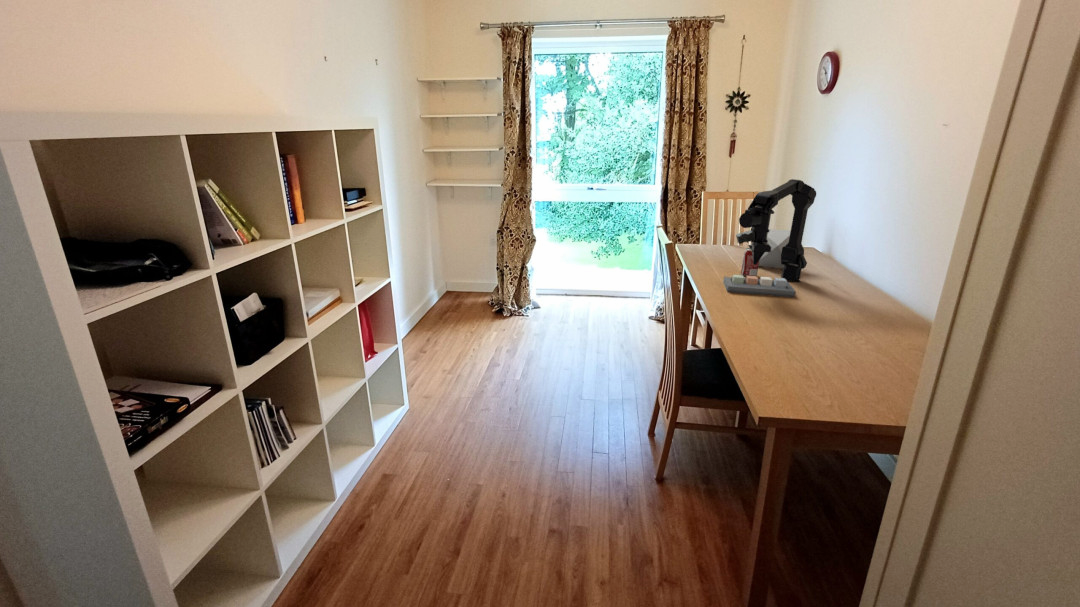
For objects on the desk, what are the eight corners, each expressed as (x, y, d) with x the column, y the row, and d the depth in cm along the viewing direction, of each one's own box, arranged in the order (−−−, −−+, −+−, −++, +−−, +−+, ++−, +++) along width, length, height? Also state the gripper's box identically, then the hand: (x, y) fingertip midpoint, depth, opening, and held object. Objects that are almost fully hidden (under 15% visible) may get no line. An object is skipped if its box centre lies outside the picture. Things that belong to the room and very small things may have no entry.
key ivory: (769, 283, 207) (770, 277, 207) (771, 286, 204) (772, 280, 203) (759, 282, 208) (760, 276, 207) (761, 285, 205) (762, 279, 204)
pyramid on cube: (755, 263, 230) (760, 223, 229) (749, 267, 253) (753, 231, 253) (795, 267, 225) (801, 226, 225) (785, 270, 249) (790, 234, 248)
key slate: (783, 284, 206) (784, 278, 206) (785, 287, 203) (787, 281, 202) (773, 283, 207) (774, 277, 206) (775, 286, 204) (776, 280, 203)
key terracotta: (755, 282, 208) (756, 276, 208) (757, 285, 205) (758, 278, 204) (745, 281, 209) (746, 275, 208) (747, 284, 206) (748, 278, 205)
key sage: (741, 281, 209) (742, 275, 209) (743, 284, 206) (744, 277, 205) (731, 280, 210) (732, 274, 209) (733, 283, 207) (734, 277, 206)
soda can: (759, 277, 224) (763, 251, 220) (743, 277, 224) (747, 250, 220) (753, 273, 230) (757, 247, 226) (738, 273, 230) (742, 247, 226)
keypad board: (786, 287, 211) (787, 281, 211) (794, 297, 199) (795, 291, 198) (723, 282, 216) (724, 276, 215) (727, 292, 203) (728, 286, 202)
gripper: (735, 220, 209) (730, 257, 215) (743, 229, 192) (737, 268, 197) (764, 221, 207) (758, 259, 212) (774, 230, 190) (767, 271, 195)
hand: (754, 264), depth 204 cm, fingers closed
